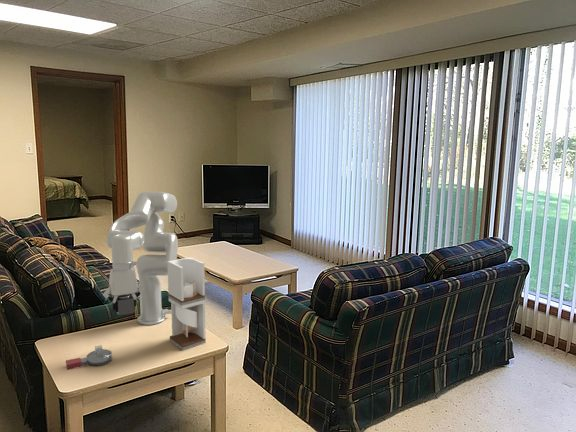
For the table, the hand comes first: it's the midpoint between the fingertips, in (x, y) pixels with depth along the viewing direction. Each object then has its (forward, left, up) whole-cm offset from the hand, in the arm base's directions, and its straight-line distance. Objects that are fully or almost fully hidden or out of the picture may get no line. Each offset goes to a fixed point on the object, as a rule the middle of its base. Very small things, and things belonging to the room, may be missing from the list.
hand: (124, 309), depth 182 cm
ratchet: (+14, +3, -18) cm, 23 cm away
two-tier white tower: (-24, +3, -18) cm, 30 cm away
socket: (0, 0, -1) cm, 1 cm away
